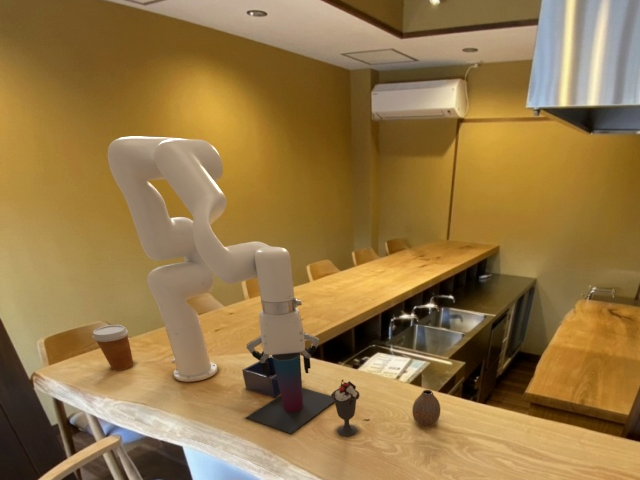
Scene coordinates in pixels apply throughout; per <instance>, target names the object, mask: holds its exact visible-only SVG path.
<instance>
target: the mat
mask: <svg viewBox="0 0 640 480" xmlns="http://www.w3.org/2000/svg"><path fill="white" fill-rule="evenodd" d="M302 397H303V408H302V409H301V410H299V411H296V412H288V411H285V410H284V406H283V402H282V398H281V395H279V396H277V397H275V398H274V399H273V400H271V401H269V402H268V403H266V404H265V405H263V406H262V407H260V408H258V409H256V410H255V411H254V412H252V413H249V415H247V416H246V417H245V419H246V420H248V421H251V422H254V423H257V424H260V425H263V426H265V427H268V428H271V429H274V430H277V431H279V432H282V433H285V434H288V435H293V434H294V433H296V432H298V431H299V430H300V429H301V428H303V427H304V426H305V425H306V424H308V423H309V422H310V421H312V420H313V419H314V418H316V417H317V416H318V415H320V414H321V413H323V412H324V411H325V410H327V409H328V408H330V406H332V405H333V404H335V401H334V400H333V399H332V398H331V395H329V394H325V393H322V392H319V391H316V390H312V389H308V388H305V387H302Z"/></svg>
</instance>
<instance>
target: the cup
mask: <svg viewBox="0 0 640 480" xmlns="http://www.w3.org/2000/svg"><path fill="white" fill-rule="evenodd" d="M271 357H272V359H273V363H274V367H275V372H276V376H277V380H278V385H279V389H280V393H281V394H280V396H281V398H282V402H283V406H284V410H285V411H288V412H296V411H299V410H301V409H302V408H303V397H302V388H303V382H302V380H303V379H302V366H301V365H302V364H301V352H298V353H289V354H278V355H271Z"/></svg>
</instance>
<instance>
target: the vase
mask: <svg viewBox="0 0 640 480" xmlns="http://www.w3.org/2000/svg"><path fill="white" fill-rule="evenodd" d="M411 413H412V417H413V421H415V422H416V424H418V425H419V426H421V427H424V428H427V427H431V426H434V425H435V424H436V423H437V422H438V421H439V418H440V416H441V404H440V402H439V400H438V398H437V397H436V396H435V395H434V393H433V391H432V390H431V389H424V390H422V392H421V393H420V394H419V395H418V396H417V397H416V398H415V400H414V402H413V404H412V412H411Z"/></svg>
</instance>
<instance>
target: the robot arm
mask: <svg viewBox="0 0 640 480" xmlns="http://www.w3.org/2000/svg"><path fill="white" fill-rule="evenodd" d="M107 161H108V166H109V167H108V168H109V170H110V172H111V175H112V177H113V179H114V181H115V183H116V185H117V187H118V188H119V190H120V192H121V194H122V196H123V197H124V199H125V202H126V204H127V207H128V209H129V212H130V215H131V219H132V222H133V225H134V229H135V230H136V234H137V236H138V239H139V243H140V245H141V248H142V251H143V252H144V254H145V255H146V256H147V257H148V259H150V260H153V261H158V262H159V261H167V260H173V259H178V258H182V257H183V259H184V261H181V262H175V263H169V264H165V265H161V266H158V267H156V268H154V269H152V270H151V271H150V272H149V273H148V275H147V278H146V282H147V283H146V284H147V287H148V289H149V292H150V294H151V295H152V297H153V299H154V301H155V303H156V306H157V308H158V310H159V313H160V316H161V319H162V322H163V325H164V328H165V332H166V335H167V339H168V342H169V344H170V347H171V351H172V354H173V358H172V359H171V360H170V361H171V363H172V364H175V367H176V368H175V370H174V371H173V377H174V379H175V380H177V381H180V382H185V383H186V382H187V383H188V382H190V383H191V382H199V381H203V380H207V379H209V378H211V377H213V376H214V375H216V374H217V372H218V370H219V369H218V365H217V364H216V363H214V362H211V359H210V355H209V352H208V351H209V350H208V347H207V343H206V339H205V335H204V331H203V328H202V323H201V319H200V316H199V314H198V312H197V310H196V309H195V308H194V307H193V306H191V305H190V304H189V302H188V301H187V300H190V299H193V298H197V297H200V296H203V295H207V294H209V293H210V292H211V291H212V290H213V289H214V286H215V279H214V276H215V277H216V278H217V279H219V281H221V282H223V283H225V284H227V285H234V284H235V285H236V284H239V283H242V282H246V281H250V280H253V279H257V283H258V289H259V296H260V304H261V310H260V311H259V315H258V316H259V318H258V319H259V332H260V335H259V336H258V337H256V338H254V339H253V340H251V341H249V342H247V344H246V349H247V350H248V351H249V353H250V354H251V356H252V357H253V358H255V360H257V361H258V362H259V361H260V362H261V363H262V369H263V373H266V376H267V377H271V376H269V368H268V362H267V358H268V357H269V356H272V355H278V354H289V353H298V352H299V353H300V354H301V355H302V359H303V368H304V372H305V374H309V370H310V369H311V358H312V355H314V353H315V352H316V351H317V348H318V347H319V344H320V338H319V337H317V336H315V335H313V334H310V333H306V332H305V331H304V326H303V320H302V317H301V313H300V309H299V308H298V307H299V306H302V305H303V303H302V299H301V298H300V299H298V298H296V297H295V289H294V280H293V271H292V270H293V269H292V262H291V261H292V260H291V254H290V252H289V251H288V250H287V248H284V247H281V246H270V245H268V244H266V243H265V242H262V241H257V240H256V241H255V240H254V241H248V242H243V243H237V244H233V245H232V244H231V245H228V246H224V245H223V243H222V242H221V241H220V239H219V238H218V236H216V234H215V232H214V230H213V229H212V226H211V225H212V224H213V223H215V222H216V221H217V220H218V219H219V218H220V217H221V216H222V215H223V214H224V212H225V211H226V208H227V204H228V203H227V198H226V195H225V194H224V192H223V191H222V190H221V188H220V186H218V184H217V182H218V181H220V179H221V178H222V176H223V173H224V164H223V160H222V158H221V155H220V153H219V152H218V151H217V149H216V148H215V146H213V145H212V144H211V143H210V142H208V141H206V140H204V139H190V138H188V139H187V138H178V137H164V136H163V137H162V136H161V137H159V136H123V137H118V138H116V139H114V140H112V141H111V142H110V144H109V145H108V148H107ZM162 180H165V181H166V183H168V185H169V186H170V187H171V188H172V190H173V192H174V193H175V194H176V195H177V197H178V199H180V201H181V202H182V203H183V205H184V206H185V207H186V209H187V211H188V212H189V213H190V214H191V215H192V219H191V218H189V217H185V216H177V217H170V215H169V211H168V208H167V204H166V202H165V199H164V197H163V196H162V194H161V193H160V191H158V190H157V188H156V187H155V186H154V184H152V183H151V182H149V181H162ZM306 341H308V342H311V345H310V346H309V347H308V348H307V347H306ZM259 345H261V347H262V351H261V352H259V351H258V350H257V349H256V347H258V346H259Z"/></svg>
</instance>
